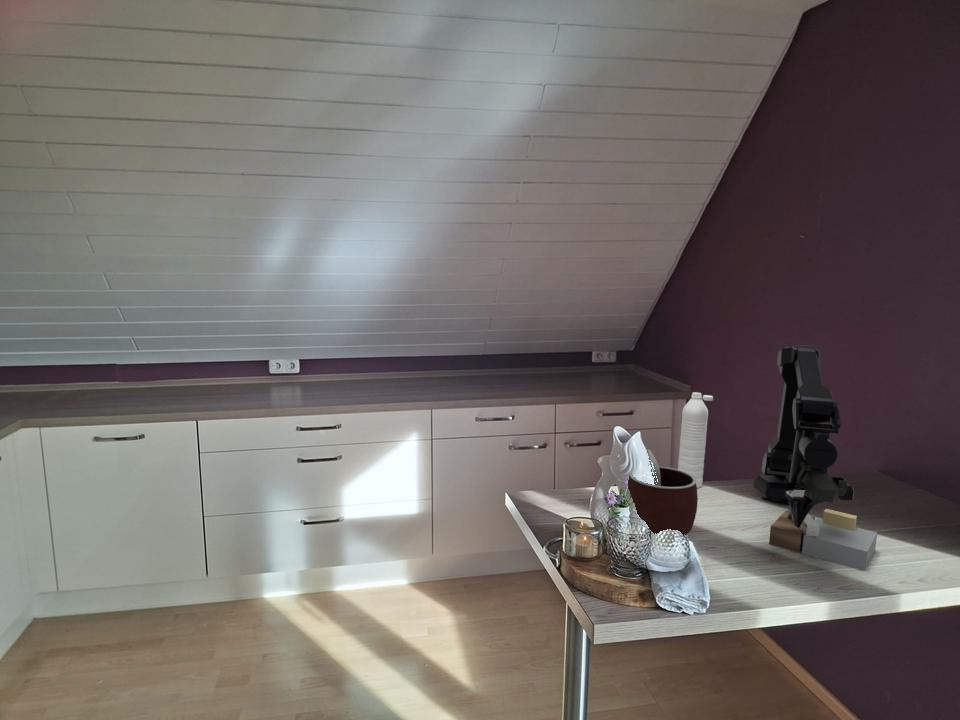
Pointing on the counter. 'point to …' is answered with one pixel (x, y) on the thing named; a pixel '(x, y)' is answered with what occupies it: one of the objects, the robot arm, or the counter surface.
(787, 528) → the jamb block
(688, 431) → the water bottle
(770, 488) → the robot arm
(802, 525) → the bar
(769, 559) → the counter surface
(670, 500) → the mate gourd
